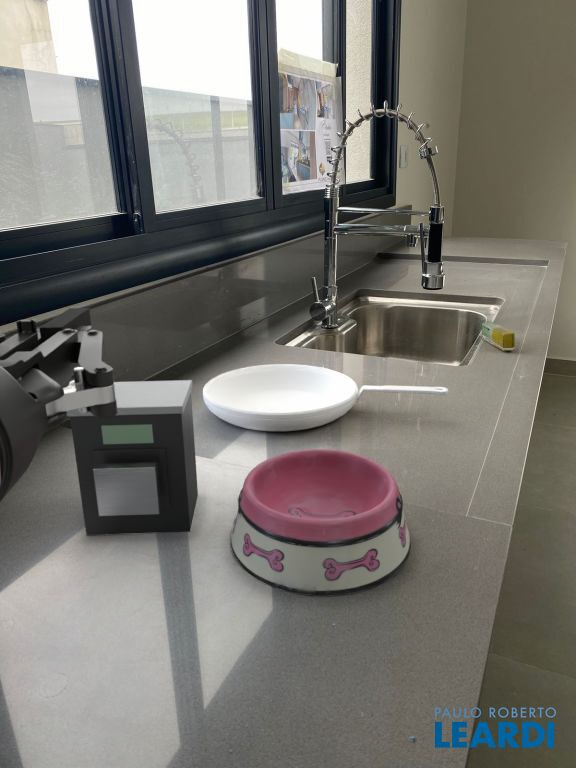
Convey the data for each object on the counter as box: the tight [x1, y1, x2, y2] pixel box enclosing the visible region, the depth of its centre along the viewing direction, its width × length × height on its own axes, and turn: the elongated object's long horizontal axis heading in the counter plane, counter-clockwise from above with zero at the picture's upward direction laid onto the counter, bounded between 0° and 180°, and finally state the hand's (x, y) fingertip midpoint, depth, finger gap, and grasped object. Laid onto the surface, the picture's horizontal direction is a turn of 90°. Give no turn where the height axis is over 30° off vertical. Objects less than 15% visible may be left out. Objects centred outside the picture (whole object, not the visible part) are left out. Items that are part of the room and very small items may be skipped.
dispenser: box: [66, 379, 199, 536], centre depth 66 cm, size 8×11×14 cm
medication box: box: [481, 321, 516, 352], centre depth 134 cm, size 12×3×4 cm, turn 5°
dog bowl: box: [229, 448, 412, 596], centre depth 62 cm, size 18×19×7 cm
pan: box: [202, 363, 449, 432], centre depth 97 cm, size 25×39×4 cm, turn 82°
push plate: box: [93, 462, 161, 516], centre depth 60 cm, size 1×6×5 cm, turn 92°
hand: (81, 325), depth 46 cm, fingers closed
